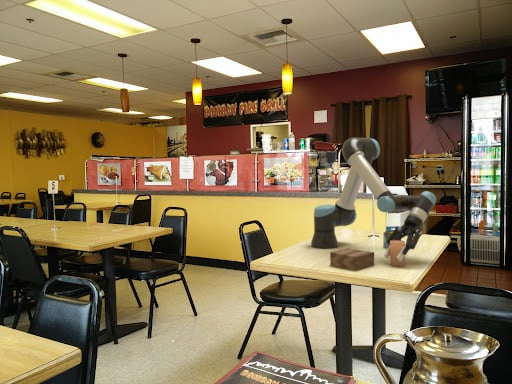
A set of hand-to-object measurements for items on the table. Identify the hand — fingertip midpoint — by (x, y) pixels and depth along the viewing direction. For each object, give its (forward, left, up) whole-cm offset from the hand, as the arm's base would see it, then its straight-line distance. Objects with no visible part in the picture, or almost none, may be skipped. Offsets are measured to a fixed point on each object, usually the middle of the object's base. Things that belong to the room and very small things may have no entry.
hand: (392, 258), depth 186 cm
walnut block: (-13, -11, -4) cm, 18 cm away
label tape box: (-22, +41, -4) cm, 46 cm away
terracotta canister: (+1, +4, -4) cm, 5 cm away
